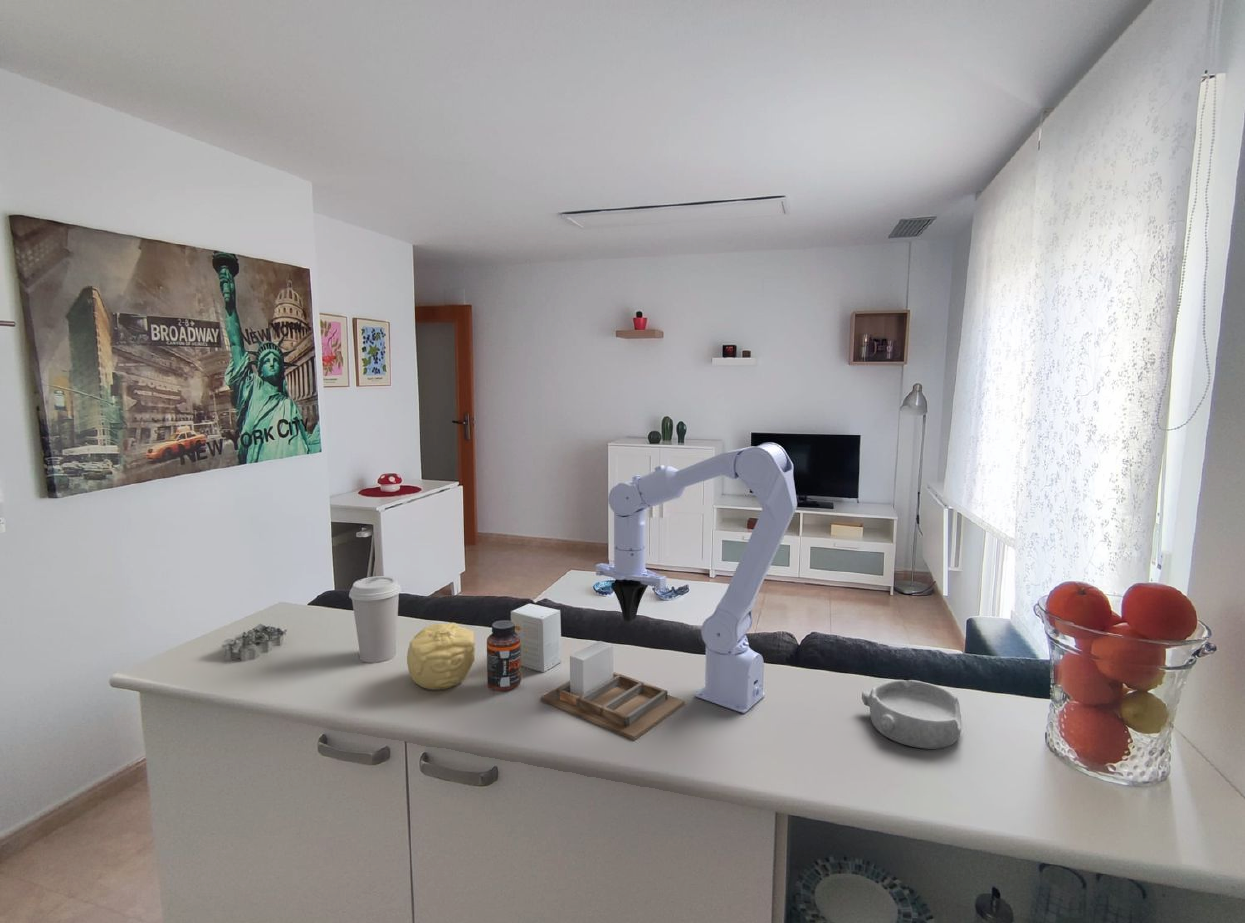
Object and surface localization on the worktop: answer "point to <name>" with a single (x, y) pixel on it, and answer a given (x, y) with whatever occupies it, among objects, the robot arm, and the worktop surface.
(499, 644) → the supplement bottle
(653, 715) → the slot rack
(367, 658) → the coffee cup
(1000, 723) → the worktop surface
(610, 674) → the blanking panel
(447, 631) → the sculpture
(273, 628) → the egg carton
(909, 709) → the dish
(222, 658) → the worktop surface
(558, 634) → the small box
